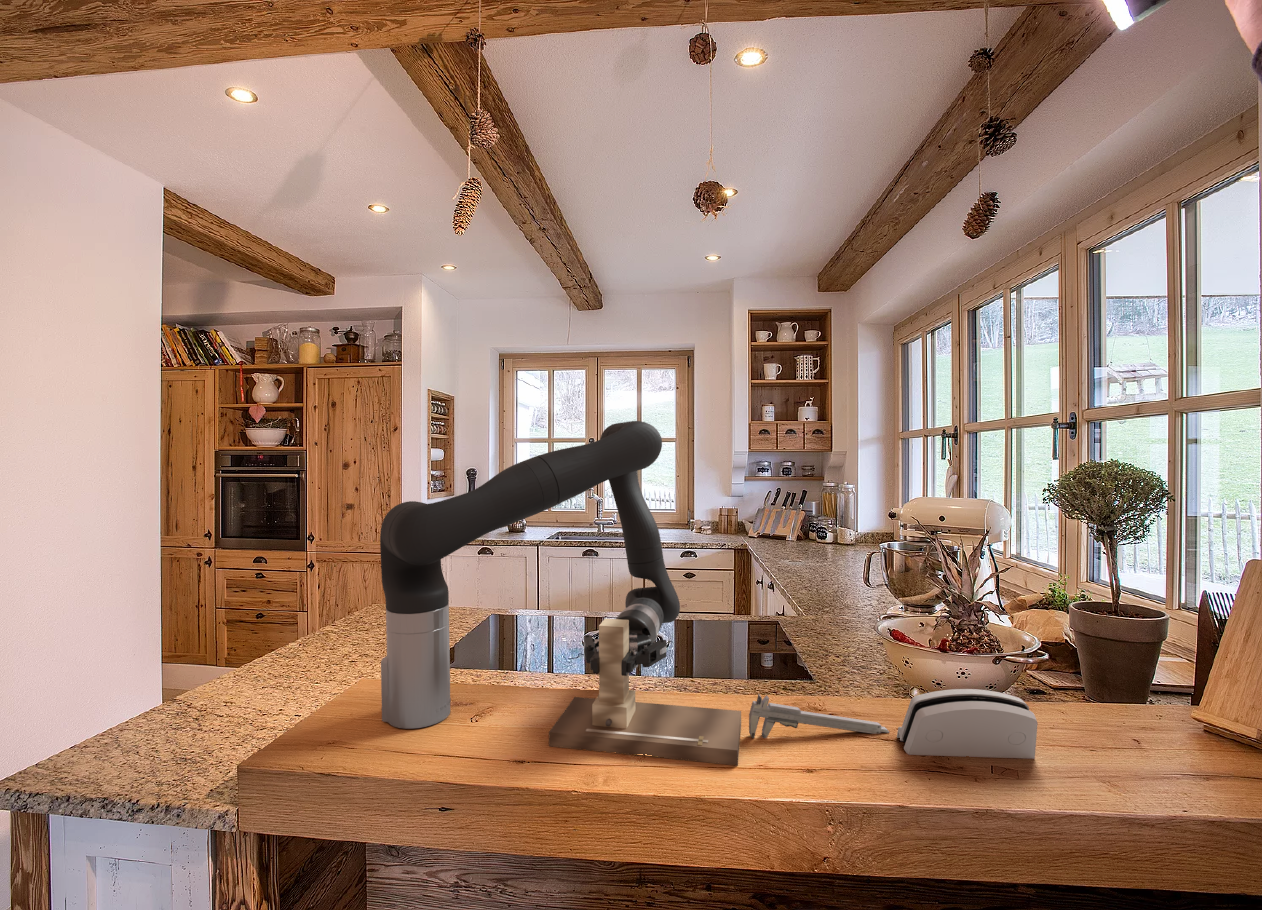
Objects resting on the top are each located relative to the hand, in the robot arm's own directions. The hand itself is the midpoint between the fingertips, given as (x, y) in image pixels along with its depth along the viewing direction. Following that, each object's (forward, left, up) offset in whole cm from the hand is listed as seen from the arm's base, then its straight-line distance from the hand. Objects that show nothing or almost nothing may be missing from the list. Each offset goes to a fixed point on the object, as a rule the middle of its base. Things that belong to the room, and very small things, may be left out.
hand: (609, 667), depth 87 cm
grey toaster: (+48, +6, -11) cm, 50 cm away
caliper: (+29, +8, -11) cm, 32 cm away
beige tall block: (0, +3, -8) cm, 9 cm away
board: (+5, +3, -10) cm, 12 cm away
